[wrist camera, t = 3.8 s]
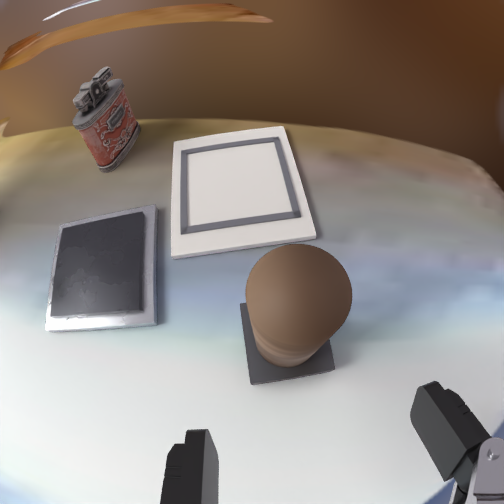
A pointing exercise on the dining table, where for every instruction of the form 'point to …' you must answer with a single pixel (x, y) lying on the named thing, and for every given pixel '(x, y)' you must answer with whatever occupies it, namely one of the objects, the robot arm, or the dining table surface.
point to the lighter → (105, 119)
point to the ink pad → (105, 272)
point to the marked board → (236, 193)
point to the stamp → (293, 312)
